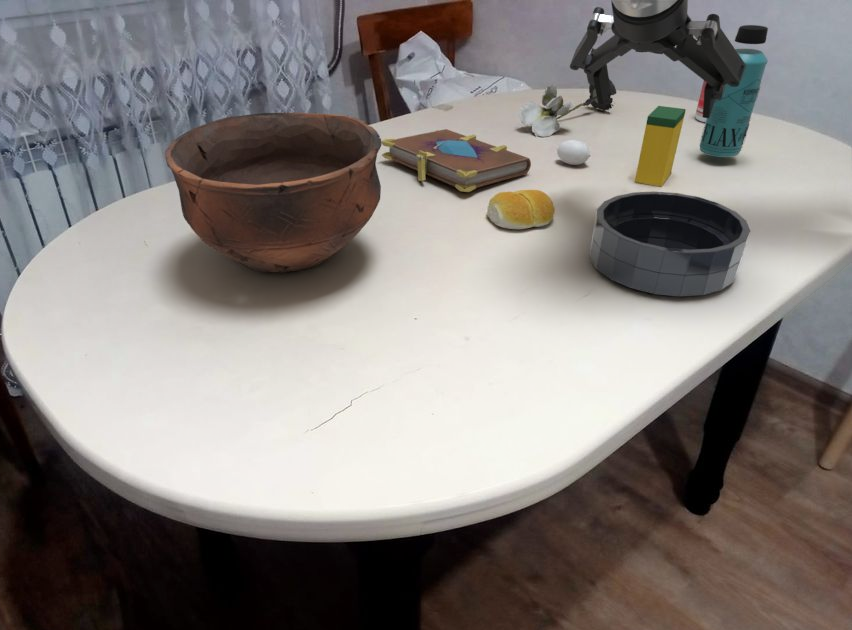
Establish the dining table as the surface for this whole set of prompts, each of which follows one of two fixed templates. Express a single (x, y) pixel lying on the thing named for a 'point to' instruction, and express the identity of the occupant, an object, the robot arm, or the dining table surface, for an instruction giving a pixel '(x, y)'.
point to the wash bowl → (668, 243)
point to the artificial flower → (557, 109)
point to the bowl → (277, 185)
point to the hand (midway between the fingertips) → (654, 102)
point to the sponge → (659, 145)
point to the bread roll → (521, 209)
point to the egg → (573, 152)
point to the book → (456, 159)
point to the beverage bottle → (736, 100)
